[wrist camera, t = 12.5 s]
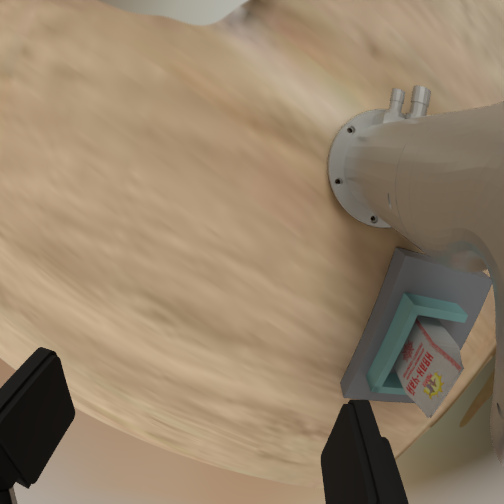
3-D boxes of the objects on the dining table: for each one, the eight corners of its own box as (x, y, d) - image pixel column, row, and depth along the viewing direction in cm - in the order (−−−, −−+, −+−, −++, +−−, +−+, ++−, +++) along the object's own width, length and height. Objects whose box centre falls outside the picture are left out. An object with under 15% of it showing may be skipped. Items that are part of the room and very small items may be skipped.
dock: (395, 246, 34) (416, 265, 28) (481, 271, 34) (506, 289, 28) (340, 383, 40) (346, 413, 35) (422, 390, 40) (434, 417, 35)
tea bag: (438, 319, 33) (475, 369, 24) (414, 364, 35) (442, 418, 26) (414, 315, 33) (449, 366, 24) (391, 361, 35) (416, 418, 26)
